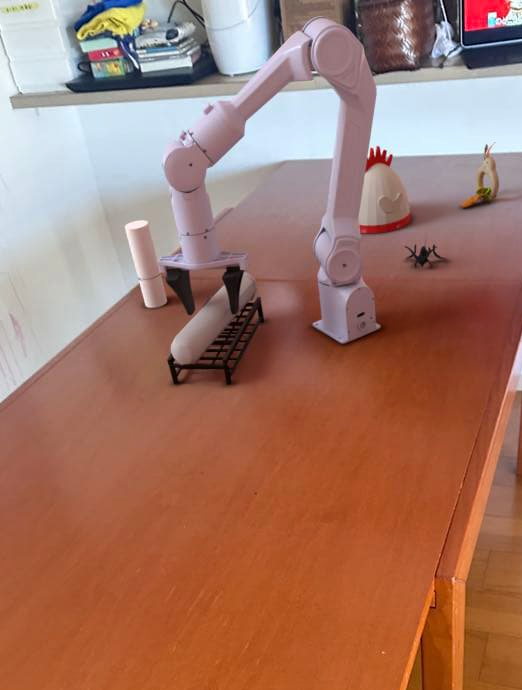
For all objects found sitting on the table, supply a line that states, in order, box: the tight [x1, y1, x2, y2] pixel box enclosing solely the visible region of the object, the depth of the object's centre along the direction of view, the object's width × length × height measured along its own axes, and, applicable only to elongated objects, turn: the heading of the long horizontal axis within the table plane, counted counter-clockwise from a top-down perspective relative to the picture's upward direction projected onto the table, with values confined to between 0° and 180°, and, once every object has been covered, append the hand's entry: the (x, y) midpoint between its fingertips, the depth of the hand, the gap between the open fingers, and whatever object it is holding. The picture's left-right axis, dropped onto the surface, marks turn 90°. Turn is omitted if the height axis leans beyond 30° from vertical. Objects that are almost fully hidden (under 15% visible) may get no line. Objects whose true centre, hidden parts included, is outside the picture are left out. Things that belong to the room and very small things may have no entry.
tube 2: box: [170, 271, 258, 365], centre depth 126 cm, size 5×5×25 cm
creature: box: [404, 236, 446, 268], centre depth 145 cm, size 8×5×8 cm
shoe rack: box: [166, 296, 265, 386], centre depth 128 cm, size 10×22×4 cm, turn 167°
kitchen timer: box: [358, 145, 411, 234], centre depth 161 cm, size 14×14×15 cm
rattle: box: [461, 143, 500, 209], centre depth 163 cm, size 8×8×12 cm
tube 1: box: [124, 219, 168, 309], centre depth 143 cm, size 4×4×15 cm
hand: (213, 312), depth 125 cm, fingers open, 7 cm apart
